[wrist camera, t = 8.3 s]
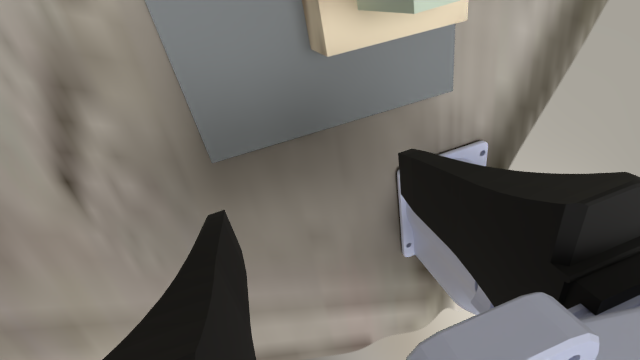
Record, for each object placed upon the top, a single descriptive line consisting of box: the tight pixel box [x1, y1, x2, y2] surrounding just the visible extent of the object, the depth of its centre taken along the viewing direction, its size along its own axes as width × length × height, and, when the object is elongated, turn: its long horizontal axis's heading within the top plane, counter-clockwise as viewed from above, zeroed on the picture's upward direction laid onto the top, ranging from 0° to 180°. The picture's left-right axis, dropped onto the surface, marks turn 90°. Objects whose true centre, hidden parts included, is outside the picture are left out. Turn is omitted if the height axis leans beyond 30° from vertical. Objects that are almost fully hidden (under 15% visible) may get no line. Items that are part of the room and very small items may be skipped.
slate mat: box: [145, 0, 455, 163], centre depth 18 cm, size 14×17×1 cm
